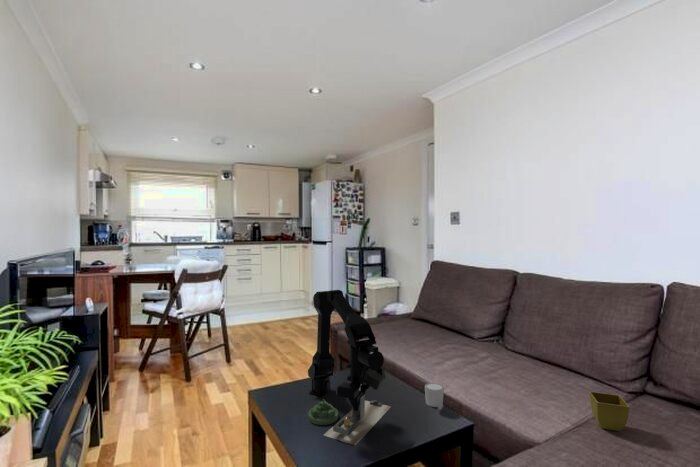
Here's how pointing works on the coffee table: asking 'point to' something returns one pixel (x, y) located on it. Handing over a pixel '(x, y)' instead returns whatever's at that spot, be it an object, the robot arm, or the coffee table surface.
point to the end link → (352, 418)
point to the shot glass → (434, 395)
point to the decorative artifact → (323, 414)
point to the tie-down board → (372, 416)
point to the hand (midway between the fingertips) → (358, 408)
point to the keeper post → (347, 422)
